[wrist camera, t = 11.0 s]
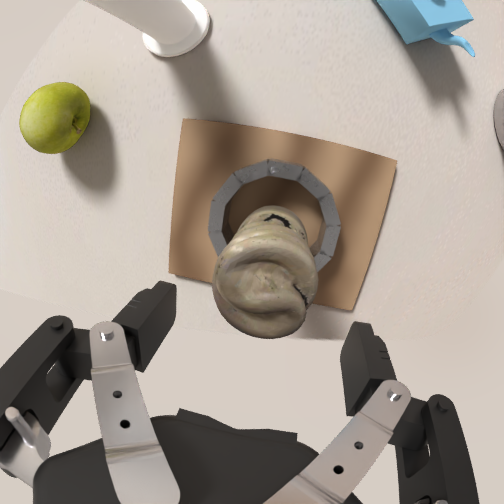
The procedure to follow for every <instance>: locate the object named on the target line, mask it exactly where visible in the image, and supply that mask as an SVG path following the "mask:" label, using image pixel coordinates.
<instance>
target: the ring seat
mask: <svg viewBox="0 0 504 504" xmlns="http://www.w3.org/2000/svg"><path fill="white" fill-rule="evenodd" d="M266 176H275V177H280V178H285V179H290V180H295V181H298V182H299V183H300V184H301V185H302V186H304V187H305V188H306V189H307V190H308V191H309V192H310V193H311V194H313V195H314V196H315V197H316V198H317V200H318V203H319V206H320V209H321V212H322V216H323V218H322V222H321V226H320V230H319V234H318V238H317V240H316V241H315V242H314V243H313V244H312V246H311V247H310V248H309V249H310V251H311V253H312V255H313V257H314V260H315V263H316V270H317V272H318V271H319V270H320V269H321V268H322V267H323V266H325V265H326V264H327V263H328V262H329V261H330V260H331V259H332V258H331V256H333V254H334V251H335V247H336V244H337V240H338V236H339V233H340V229H341V226H340V225H341V222H340V219H339V215H338V212H337V208H336V205H335V202H334V198H333V195H332V193H331V191H330V190H329V188H328V187H327V186H326V185H325V184H324V183H323V182H322V181H321V180H320V179H319V178H317V177H316V176H315V175H314V174H313V173H312V172H311V171H310V170H309V169H307V168H306V167H305V166H304V165H303V166H302V164H299V163H294V162H289V161H284V160H279V159H273V158H271V159H270V160H269V158H268V159H266V160H263V161H260V162H257V163H254V164H251V165H249V166H246V167H243V168H240V169H239V170H237V171H235V172H234V173H232V174H231V176H230V177H229V178H228V179H227V181H226V182H225V183H224V184H223V186H222V187H221V188H220V189H219V191H218V192H217V193H216V194H215V196H214V197H213V198H212V199H213V200H212V201H211V207H210V215H209V223H208V231H209V233H208V235H209V237H210V240H211V242H212V244H213V247H214V249H215V251H216V254H217V256H218V257H219V255H220V254H221V252H222V251H223V250H224V248H225V247H226V246H227V245H228V244H229V243H230V241H231V240H232V239H233V237H234V234H233V232H232V229H231V227H230V224H229V215H230V208H231V202H232V198H233V197H234V196H235V194H236V193H237V192H238V191H239V189H240V188H241V187H242V186H243V185H244V184H246V183H249V182H251V181H254V180H257V179H260V178H263V177H266Z"/></svg>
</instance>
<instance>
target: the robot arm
mask: <svg viewBox="0 0 504 504" xmlns="http://www.w3.org/2000/svg"><path fill="white" fill-rule="evenodd" d="M494 122H495V128H496V133H497V136H498V139H499V142H500V144H501V146H502V148H503V150H504V89H503V90H502V91H501V92H500V93H499V94H498V96H497V98H496V101H495V106H494ZM176 292H177V288H176V285H175V284H172V283H168V282H164V281H159V282H158V283H157V284H156V285H155V286H154V287H153V288H152V289H148V288H147V289H145V290H143V291H140V292H138V293H137V294H136V295H135V296H134V297H133V298H132V300H131V301H130V302H129V303H128V304H127V305H126V306H125V307H124V308H123V309H122V310H121V311H120V312H119V314H118V315H117V316H116V317H115V318H114V319H113V320H112V321H111V322H109V321H106V322H100V323H98V324H96V325H94V326H93V327H92V328H91V330H86V329H77V328H74V327H73V323H72V321H71V320H70V319H69V318H68V317H66V316H60V315H59V316H53V317H51V318H48V319H47V320H46V321H45V322H44V323H43V324H42V325H41V326H40V327H39V328H38V329H37V330H36V331H35V332H34V333H33V334H32V335H31V336H30V337H29V338H28V339H27V340H26V341H25V342H24V343H23V344H22V345H21V347H19V348H18V349H17V351H16V352H15V353H14V354H13V355H12V356H11V357H10V358H9V359H8V360H7V361H6V363H5V364H4V365H3V366H2V367H1V368H0V468H1V469H2V470H3V471H4V472H5V473H7V474H8V475H9V476H11V477H15V478H19V479H20V480H22V481H23V482H24V483H26V484H27V485H29V486H30V487H32V488H33V504H363V503H362V502H361V501H360V500H359V499H358V498H357V497H356V496H355V495H354V493H352V491H353V490H354V489H355V487H356V486H357V485H358V484H359V482H360V481H361V480H362V478H363V477H364V476H365V474H366V473H367V472H368V470H369V469H370V467H371V466H372V465H373V463H374V462H375V461H376V459H377V458H378V456H379V455H380V453H381V452H382V450H383V449H384V447H385V446H386V444H387V443H388V444H392V445H395V450H396V458H397V470H398V482H399V500H400V504H479V498H478V493H477V487H476V482H475V478H474V473H473V468H472V464H471V460H470V456H469V452H468V448H467V445H466V441H465V437H464V434H463V431H462V428H461V424H460V421H459V418H458V415H457V412H456V409H455V406H454V404H453V402H452V401H451V400H450V399H449V398H447V397H446V396H444V395H440V394H436V395H433V396H431V397H430V398H429V400H428V401H427V402H426V401H422V400H419V399H416V398H413V397H411V394H410V391H409V389H408V388H407V387H406V386H405V385H404V384H402V383H401V382H398V381H397V379H396V375H395V372H394V369H393V366H392V363H391V360H390V357H389V354H388V351H387V348H386V345H385V343H384V342H383V340H382V339H381V338H380V337H379V336H376V335H374V332H373V329H372V326H371V324H369V323H363V322H356V321H354V322H353V324H352V326H351V328H350V331H349V333H348V335H347V338H346V340H345V343H344V345H343V347H342V350H341V356H340V362H341V370H342V378H343V386H344V395H345V405H346V415H347V416H354V417H353V419H352V420H351V421H350V422H349V423H348V424H347V426H346V427H345V428H344V429H343V430H342V431H341V432H340V433H339V435H337V437H336V438H335V439H334V440H333V441H332V442H331V443H330V444H329V445H328V446H327V447H326V449H324V450H323V451H322V452H321V453H320V454H318V452H316V451H315V450H313V449H312V448H310V447H309V446H307V445H305V444H303V443H301V442H298V441H297V433H293V432H286V431H279V430H272V429H245V430H244V429H243V430H242V429H241V430H240V429H235V428H232V427H230V426H228V425H226V424H223V423H221V422H219V421H217V420H215V419H213V418H211V417H209V416H206V415H202V414H198V413H194V412H191V411H187V410H184V409H181V408H180V409H179V411H178V413H177V415H176V416H174V415H164V416H156V417H152V418H149V415H148V412H147V409H146V406H145V403H144V400H143V397H142V393H141V390H140V387H139V384H138V380H137V377H136V373H135V370H137V371H140V372H144V371H145V369H146V367H147V366H148V364H149V363H150V361H151V359H152V357H153V356H154V354H155V353H156V351H157V350H158V348H159V346H160V345H161V343H162V342H163V340H164V338H165V337H166V335H167V334H168V332H169V331H170V329H171V327H172V326H173V324H174V321H175V317H176ZM54 363H55V365H54ZM53 365H54V366H53ZM52 366H53V367H52ZM51 367H52V369H51V370H50V368H51ZM49 370H50V371H49ZM48 371H49V372H48ZM47 373H48V374H47ZM84 379H86V380H92V383H93V390H94V397H95V403H96V409H97V414H98V420H99V424H100V429H101V434H102V438H101V439H98V440H96V441H93V442H90V443H88V444H85V445H83V446H80V447H77V448H74V449H72V450H69V451H66V452H63V453H60V454H57V455H54V456H52V457H49V451H50V447H51V442H50V438H49V436H48V435H49V433H50V431H51V430H52V428H53V427H54V425H55V423H56V422H57V420H58V418H59V417H60V415H61V414H62V412H63V410H64V409H65V407H66V406H67V404H68V403H69V401H70V399H71V398H72V397H73V395H74V393H75V392H76V390H77V389H78V387H79V386H80V384H81V383H82V381H83V380H84ZM427 444H428V445H429V449H430V456H429V451H428V445H427ZM48 457H49V458H48Z"/></svg>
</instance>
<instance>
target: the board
mask: <svg viewBox="0 0 504 504" xmlns="http://www.w3.org/2000/svg"><path fill="white" fill-rule="evenodd" d="M268 158H269V160H270V159H271V158H273V159H279V160H284V161H289V162H294V163H299V164H302V166H303V165H304V166H305V167H306V168H307V169H309V170H310V171H311V172H312V173H313V174H314V175H315V176H316V177H317V178H319V179H320V180H321V181H322V182H323V183H324V184H325V185H326V186H327V187H328V188H329V190H330V191H331V193H332V195H333V198H334V202H335V205H336V208H337V212H338V215H339V219H340V222H341V225H340V226H341V229H340V233H339V236H338V240H337V244H336V247H335V251H334V254H333V256H331V258H332V259H331V260H330V261H329V262H328V263H327V264H326V265H325V266H323V267H322V268H321V269H320V270H319V271H318V272H317V273H318V279H319V281H318V289H317V293H316V296H315V299H314V301H313V303H312V304H318V305H323V306H329V307H334V308H340V309H346V310H352V309H353V306H354V304H355V301H356V298H357V296H358V293H359V290H360V288H361V285H362V282H363V279H364V276H365V274H366V271H367V268H368V265H369V262H370V259H371V256H372V253H373V250H374V246H375V243H376V240H377V237H378V233H379V230H380V227H381V223H382V220H383V216H384V213H385V209H386V205H387V201H388V198H389V194H390V190H391V186H392V182H393V177H394V173H395V169H396V164H397V160H393V159H390V158H387V157H384V156H381V155H377V154H374V153H371V152H367V151H364V150H360V149H356V148H353V147H349V146H345V145H341V144H337V143H333V142H329V141H325V140H321V139H316V138H312V137H307V136H302V135H298V134H293V133H287V132H282V131H277V130H271V129H265V128H259V127H253V126H246V125H239V124H232V123H224V122H215V121H206V120H195V119H183V122H182V128H181V135H180V143H179V150H178V159H177V167H176V176H175V186H174V196H173V208H172V220H171V235H170V252H169V273H171V274H175V275H179V276H184V277H188V278H192V279H197V280H201V281H205V282H210V283H212V277H213V272H214V268H215V264H216V261H217V259H218V256H217V254H216V251H215V249H214V247H213V244H212V242H211V240H210V237H209V235H208V233H209V231H208V223H209V215H210V207H211V201H212V200H213V199H212V198H213V197H214V196H215V194H216V193H217V192H218V191H219V189H220V188H221V187H222V186H223V184H224V183H225V182H226V181H227V179H228V178H229V177H230V176H231V174H232V173H234V172H235V171H237V170H239V169H240V168H243V167H246V166H249V165H251V164H254V163H257V162H260V161H263V160H266V159H268ZM264 206H281V207H284V208H287V209H289V210H290V211H292V212H294V213H295V214H296V215H297V216H298V217H299V219H300V220H301V222H302V223H303V225H304V228H305V230H306V233H307V239H308V246H309V248H310V247H311V246H312V244H313V243H314V242H315V241H316V240H317V238H318V234H319V230H320V226H321V222H322V218H323V216H322V212H321V209H320V206H319V203H318V200H317V198H316V197H315V196H314V195H313V194H311V193H310V192H309V191H308V190H307V189H306V188H305V187H304V186H302V185H301V184H300V183H299V182H298V181H295V180H290V179H285V178H280V177H275V176H266V177H263V178H260V179H257V180H254V181H251V182H249V183H246V184H244V185H243V186H242V187H241V188H240V189H239V191H238V192H237V193H236V194H235V196H234V197H233V198H232V202H231V208H230V215H229V224H230V227H231V229H232V232H233V234H234V236H235V234H236V233H237V231H238V229H239V227H240V226H241V224H242V223H243V222H244V220H245V219H246V218H247V217H248V216H249V215H250V214H251V213H252V212H254V211H255V210H257V209H259V208H261V207H264Z"/></svg>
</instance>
